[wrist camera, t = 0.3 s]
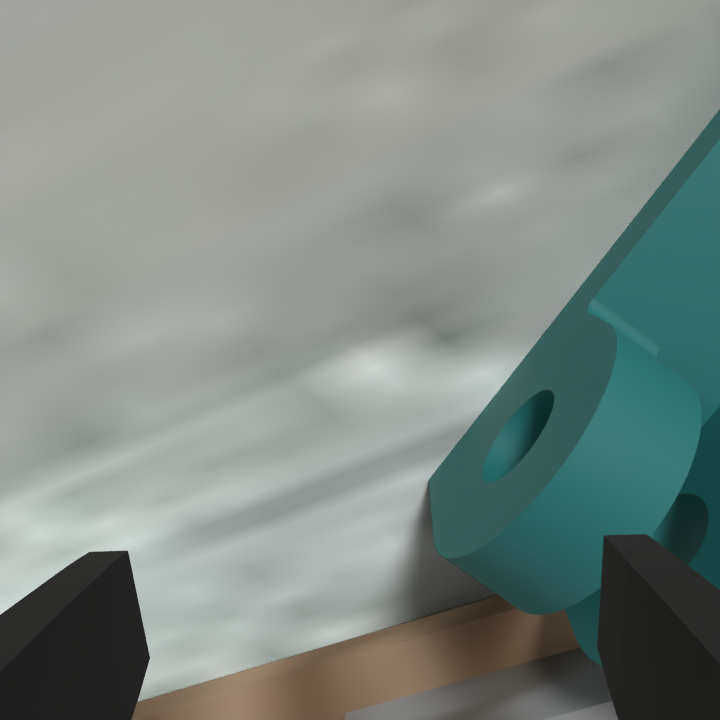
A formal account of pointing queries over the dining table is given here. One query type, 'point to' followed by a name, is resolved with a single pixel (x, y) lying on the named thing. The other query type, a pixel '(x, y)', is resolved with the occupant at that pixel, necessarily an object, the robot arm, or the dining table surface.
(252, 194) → the dining table surface
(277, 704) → the housing plate
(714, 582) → the bracket
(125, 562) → the robot arm
